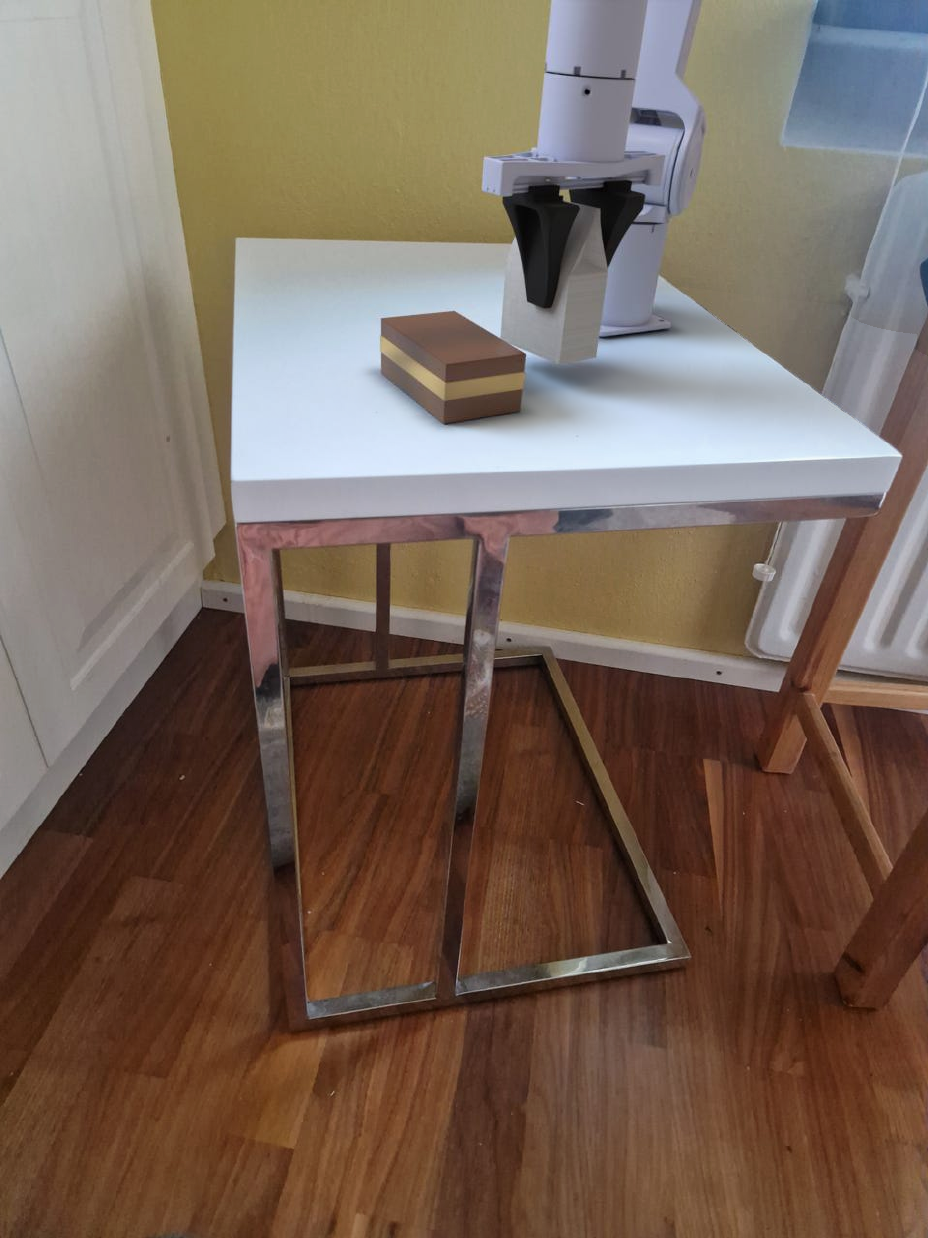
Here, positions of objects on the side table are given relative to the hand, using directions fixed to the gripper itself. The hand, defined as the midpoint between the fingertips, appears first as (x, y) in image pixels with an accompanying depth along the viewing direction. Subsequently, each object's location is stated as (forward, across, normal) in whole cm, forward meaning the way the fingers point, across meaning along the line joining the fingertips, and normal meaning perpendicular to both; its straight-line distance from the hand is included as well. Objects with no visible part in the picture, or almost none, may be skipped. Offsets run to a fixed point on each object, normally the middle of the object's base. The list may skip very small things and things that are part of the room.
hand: (561, 300), depth 59 cm
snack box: (+6, +9, -1) cm, 11 cm away
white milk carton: (+4, 0, -1) cm, 4 cm away
